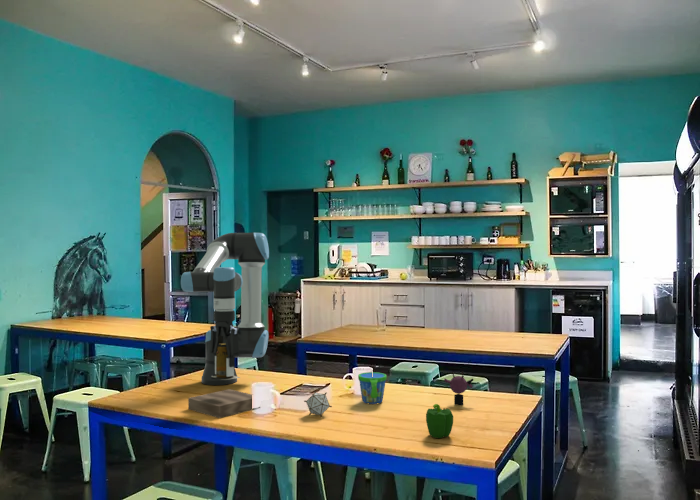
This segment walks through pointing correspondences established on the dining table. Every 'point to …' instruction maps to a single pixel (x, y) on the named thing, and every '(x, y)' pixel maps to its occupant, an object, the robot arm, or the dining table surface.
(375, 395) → the snack cup
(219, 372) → the condiment
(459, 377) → the figurine
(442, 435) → the bell pepper
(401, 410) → the dining table surface
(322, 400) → the game die
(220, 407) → the block
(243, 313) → the robot arm
